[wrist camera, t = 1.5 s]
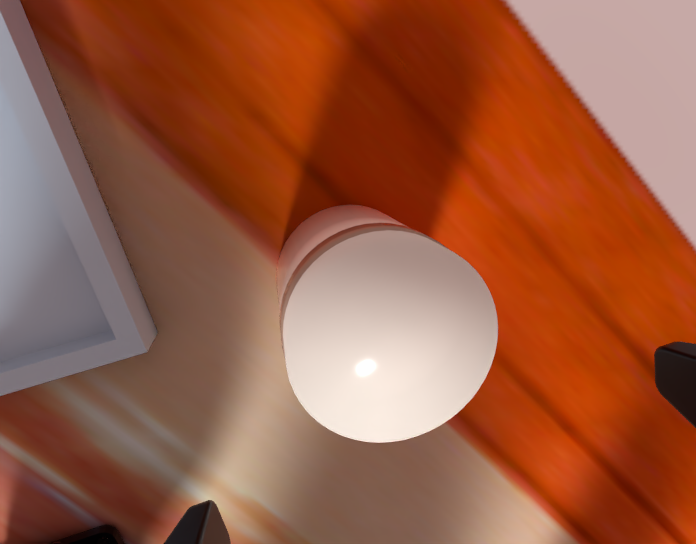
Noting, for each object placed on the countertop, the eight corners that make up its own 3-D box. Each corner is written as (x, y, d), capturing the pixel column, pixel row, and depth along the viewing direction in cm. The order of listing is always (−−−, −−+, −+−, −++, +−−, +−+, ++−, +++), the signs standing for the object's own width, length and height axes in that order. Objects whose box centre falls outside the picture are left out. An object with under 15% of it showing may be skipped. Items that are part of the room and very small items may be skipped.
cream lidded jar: (429, 319, 20) (512, 405, 14) (297, 360, 19) (317, 471, 13) (402, 186, 18) (483, 210, 12) (255, 226, 18) (253, 276, 11)
